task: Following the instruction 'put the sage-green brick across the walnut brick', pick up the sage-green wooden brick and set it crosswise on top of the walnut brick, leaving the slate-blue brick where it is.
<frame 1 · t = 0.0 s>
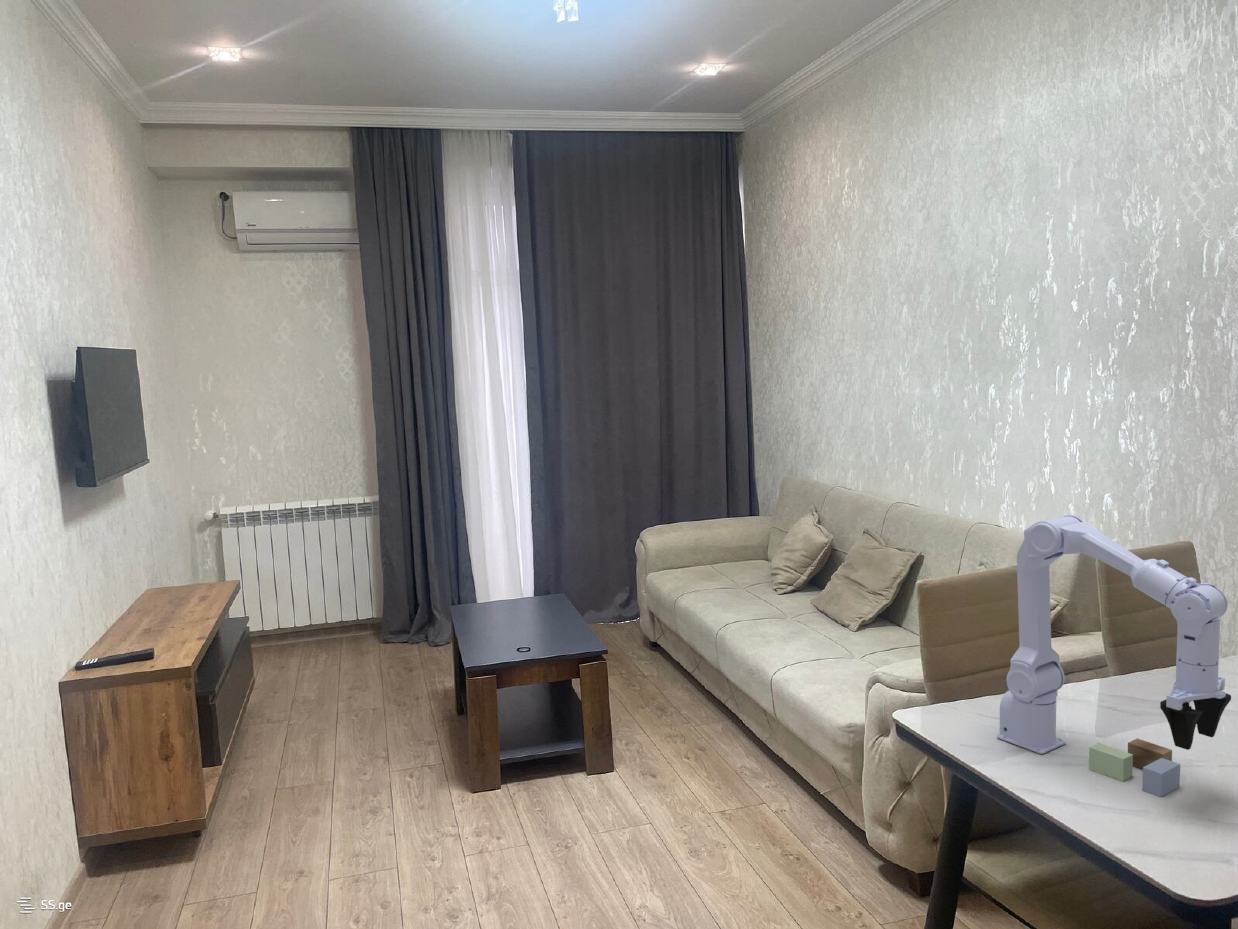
hand: (1194, 741, 145), 10 cm above the table, tool pointing down, fingers open, 7 cm apart
walnut brick: (1149, 768, 158), on the table
slate brick: (1160, 788, 151), on the table
sage brick: (1110, 772, 157), on the table
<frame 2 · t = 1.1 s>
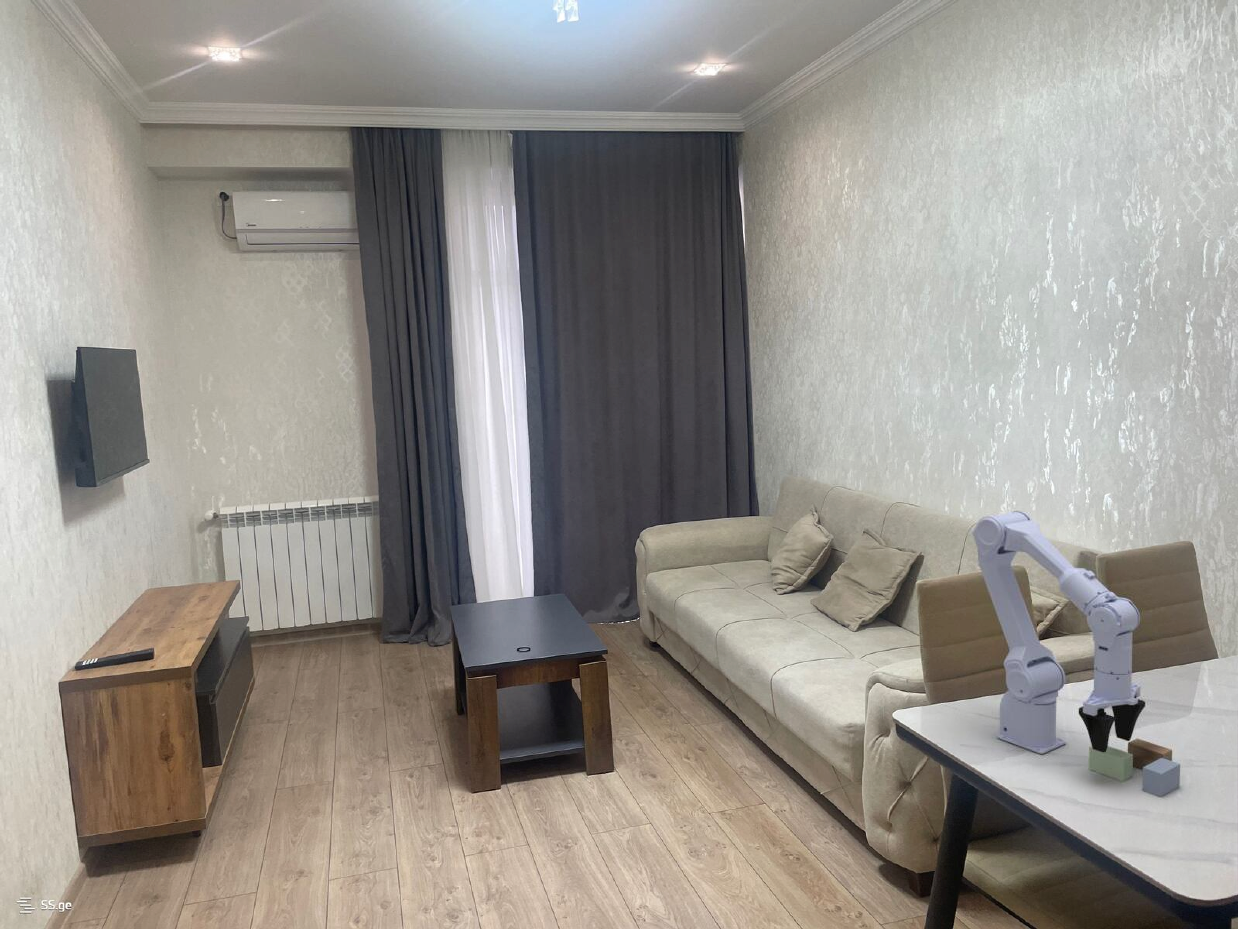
hand: (1111, 744, 156), 5 cm above the table, tool pointing down, fingers open, 7 cm apart
nothing on the table moved.
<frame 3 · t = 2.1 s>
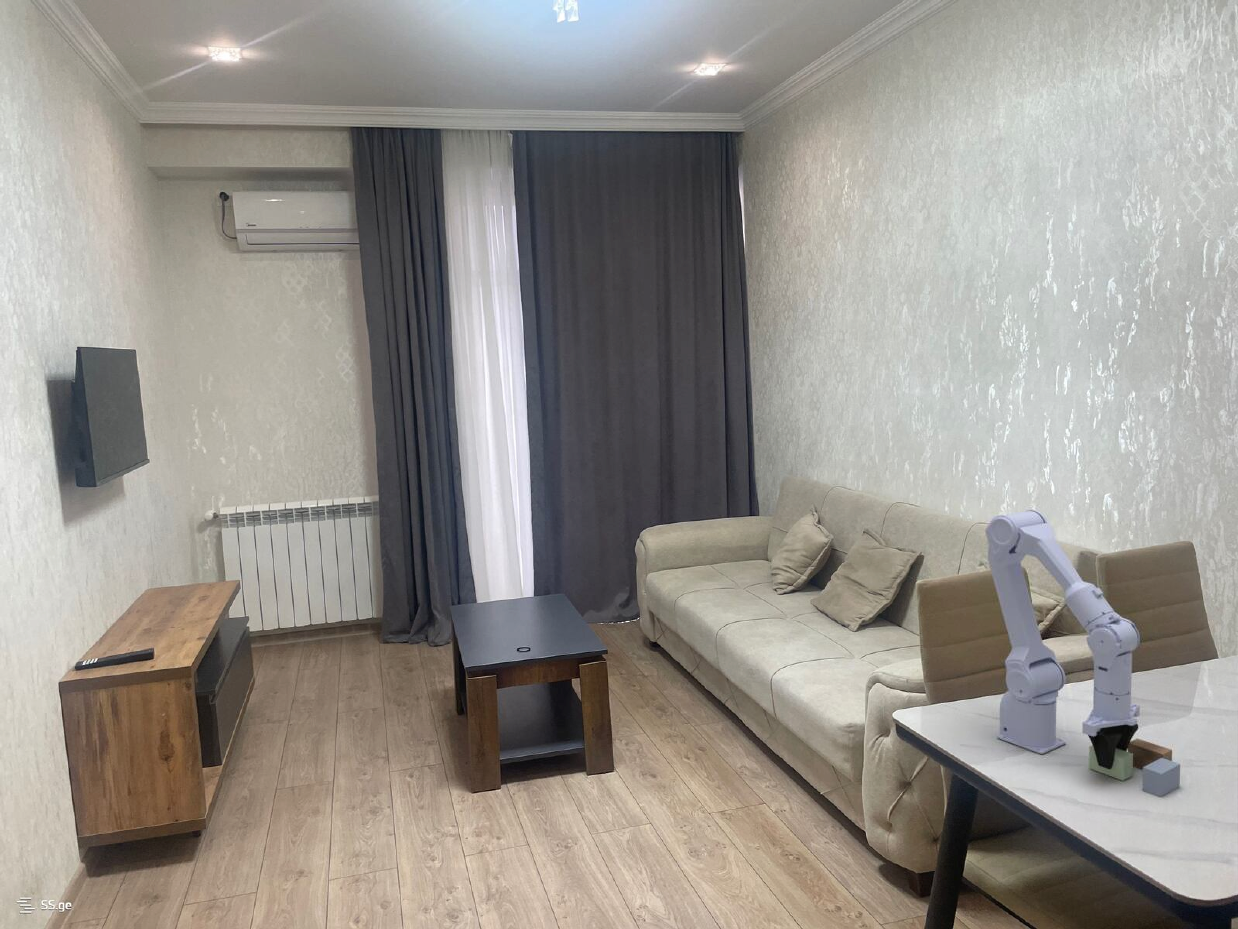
hand: (1110, 764, 157), 1 cm above the table, tool pointing down, fingers closed on sage brick, 3 cm apart
sage brick: (1110, 772, 157), on the table, touching gripper
everything else where it was.
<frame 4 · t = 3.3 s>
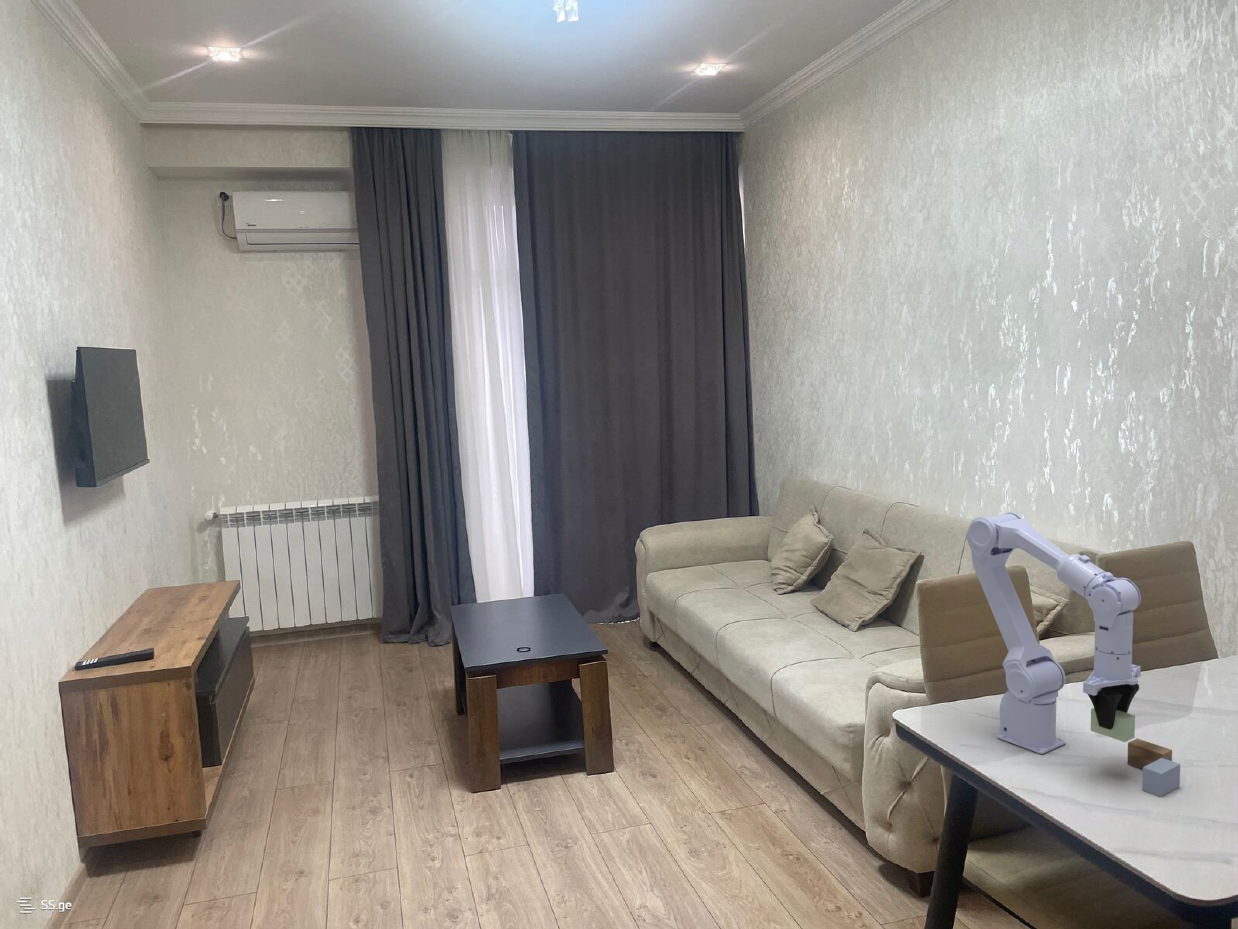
hand: (1111, 724, 156), 9 cm above the table, tool pointing down, fingers closed on sage brick, 3 cm apart
sage brick: (1112, 734, 156), point 7 cm above the table, touching gripper
everything else where it was.
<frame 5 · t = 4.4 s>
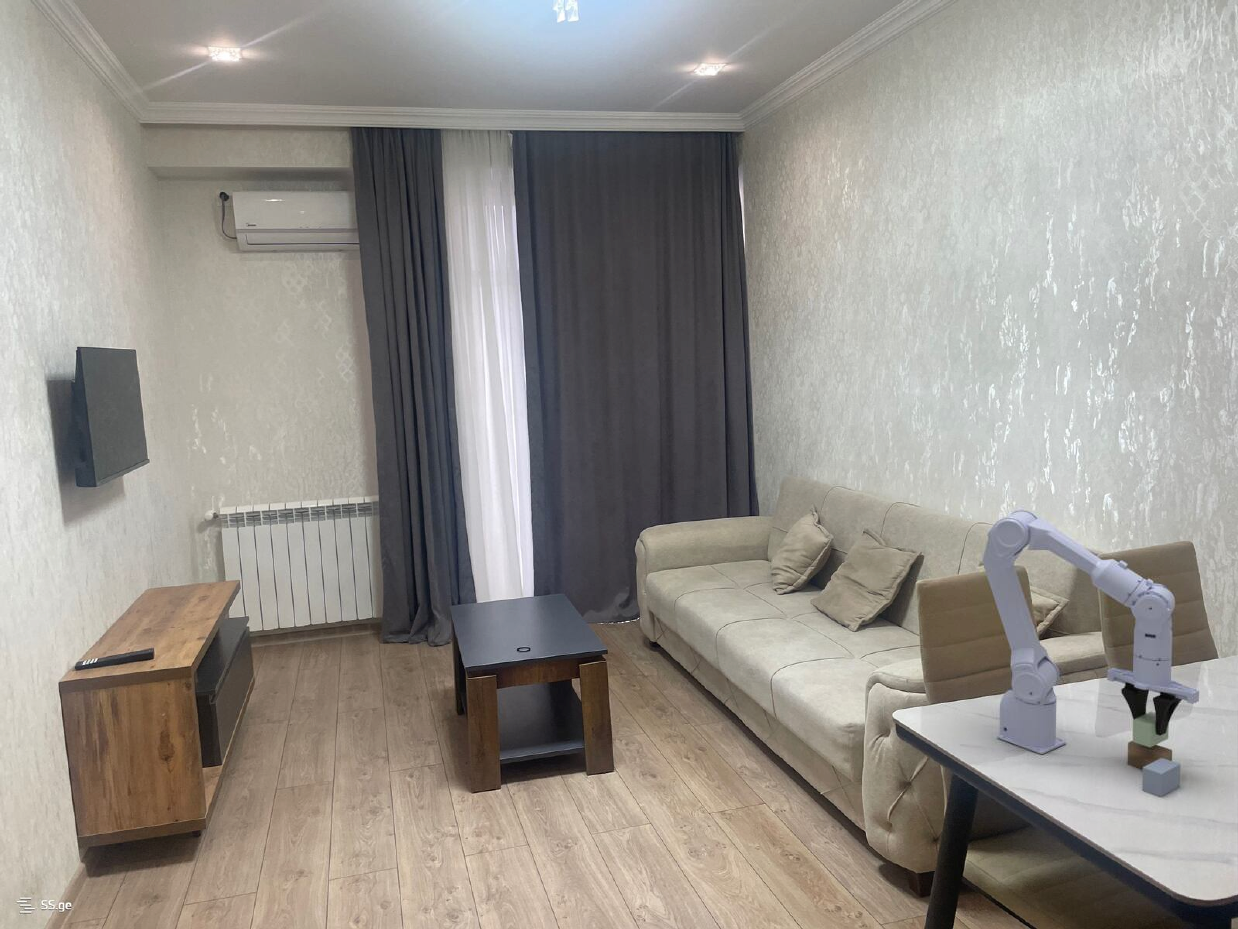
hand: (1150, 730, 157), 7 cm above the table, tool pointing down, fingers closed on sage brick, 3 cm apart
sage brick: (1150, 740, 157), point 5 cm above the table, touching gripper
everything else where it was.
when the fingers open (7 cm above the table, at t = 4.7 s): sage brick stays where it is, resting on walnut brick.
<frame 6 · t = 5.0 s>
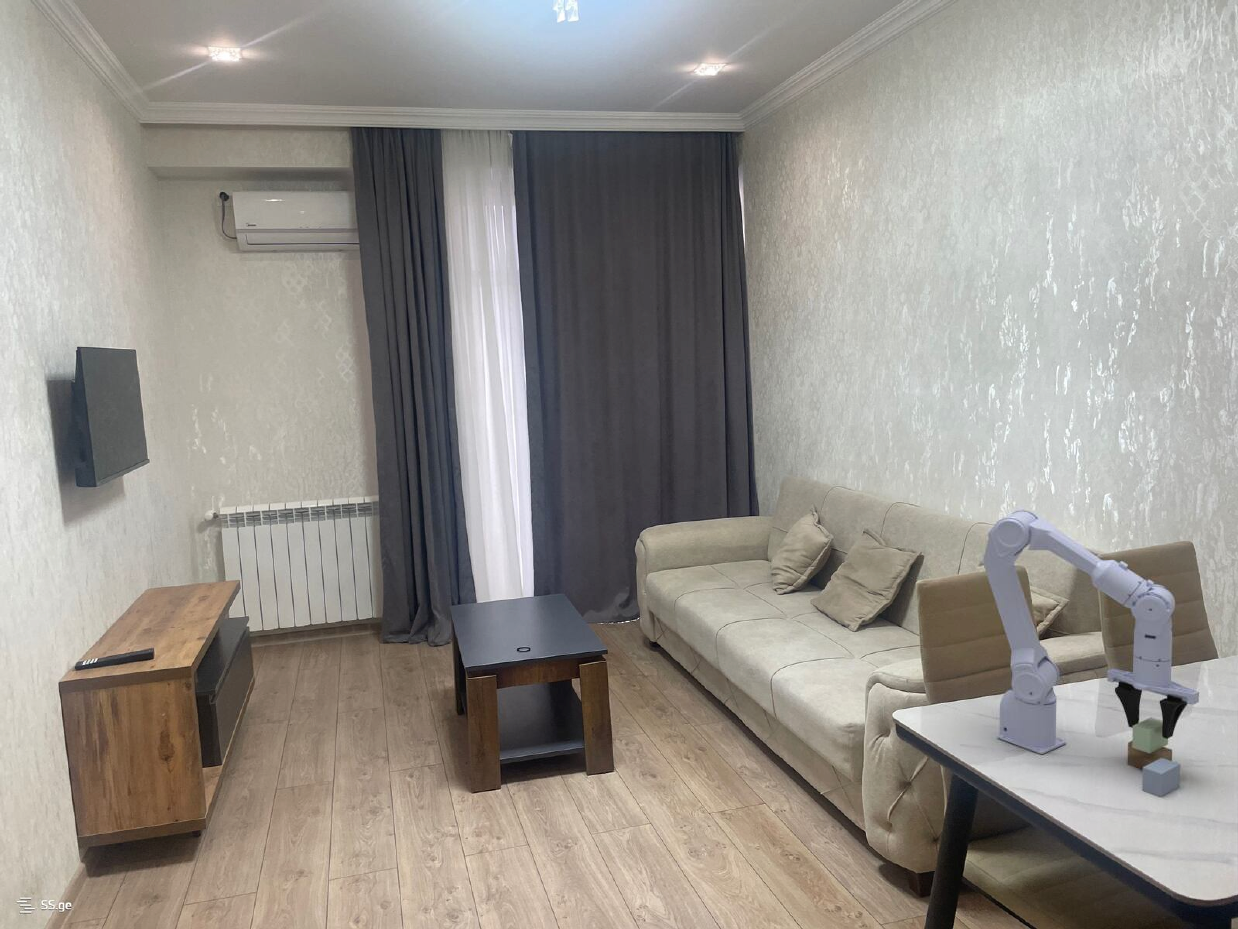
hand: (1150, 731, 157), 7 cm above the table, tool pointing down, fingers open, 5 cm apart
walnut brick: (1149, 767, 158), on the table, touching sage brick
sage brick: (1150, 746, 158), point 4 cm above the table, touching walnut brick
everything else where it was.
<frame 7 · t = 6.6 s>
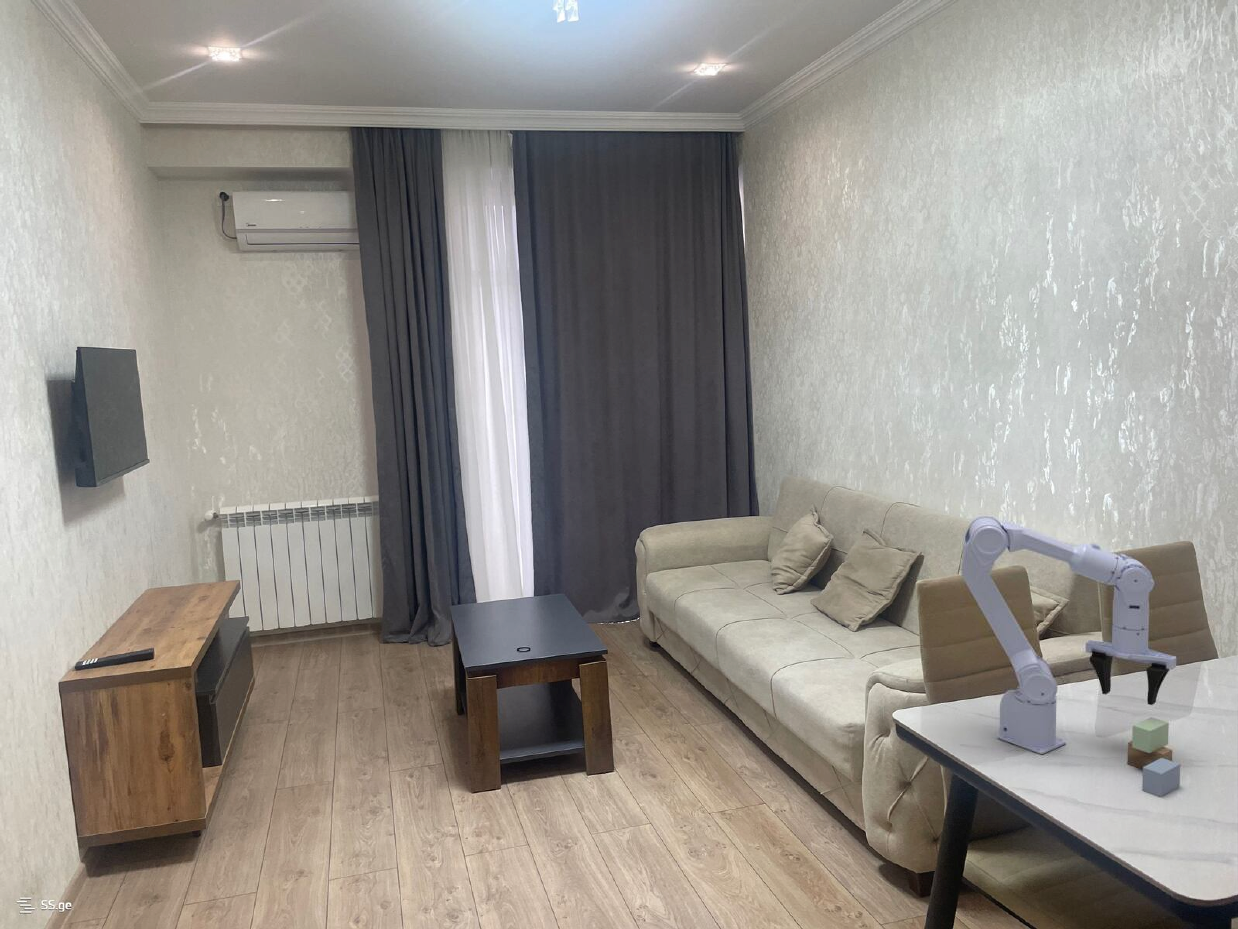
hand: (1128, 697, 164), 10 cm above the table, tool pointing down, fingers open, 7 cm apart
nothing on the table moved.
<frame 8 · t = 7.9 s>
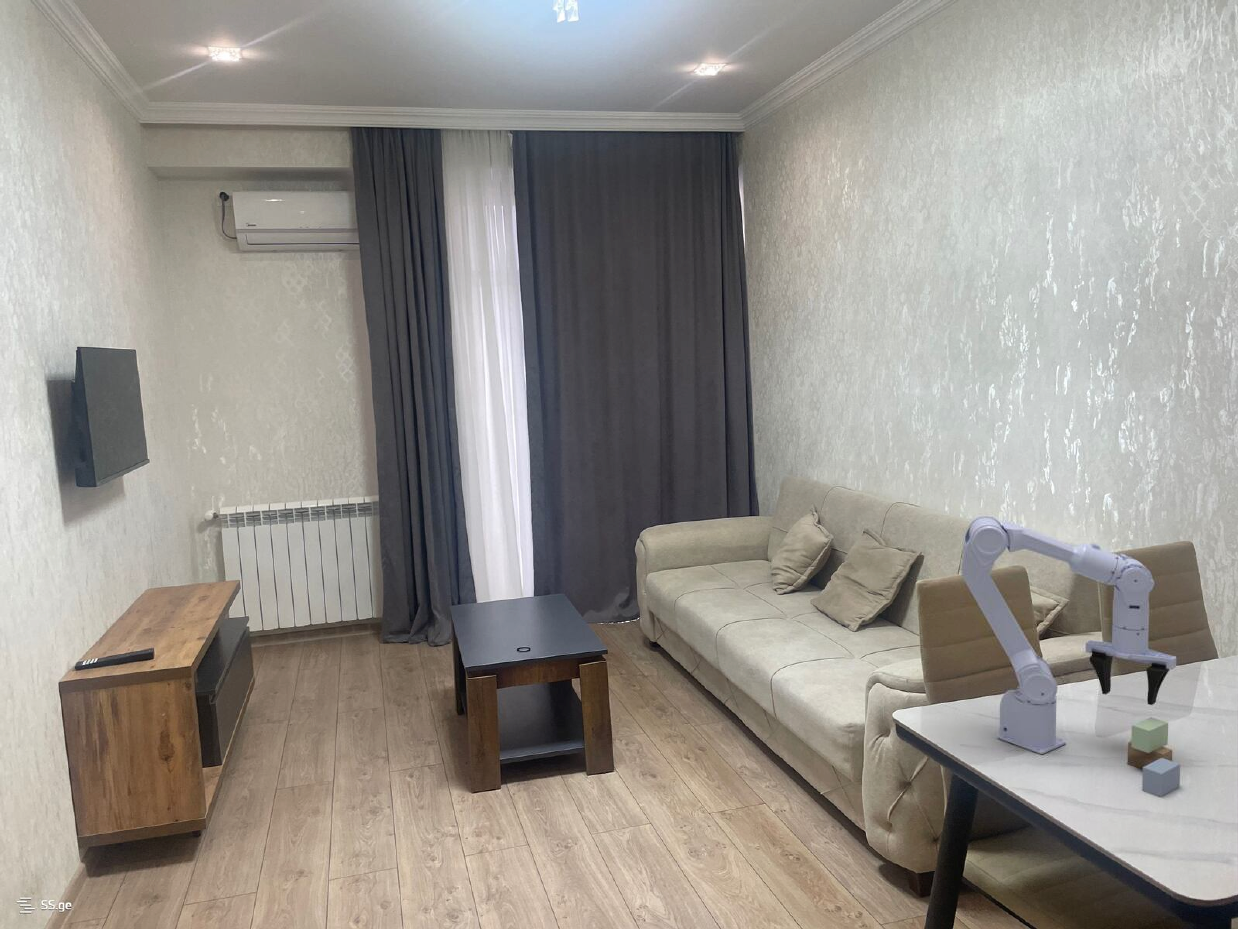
hand: (1128, 697, 164), 10 cm above the table, tool pointing down, fingers open, 7 cm apart
nothing on the table moved.
at the end: sage brick 0.1 cm off-centre on the walnut brick, point 4.0 cm above the walnut brick's base; walnut brick moved 0.1 cm from its start; slate brick moved 0.2 cm from its start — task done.
